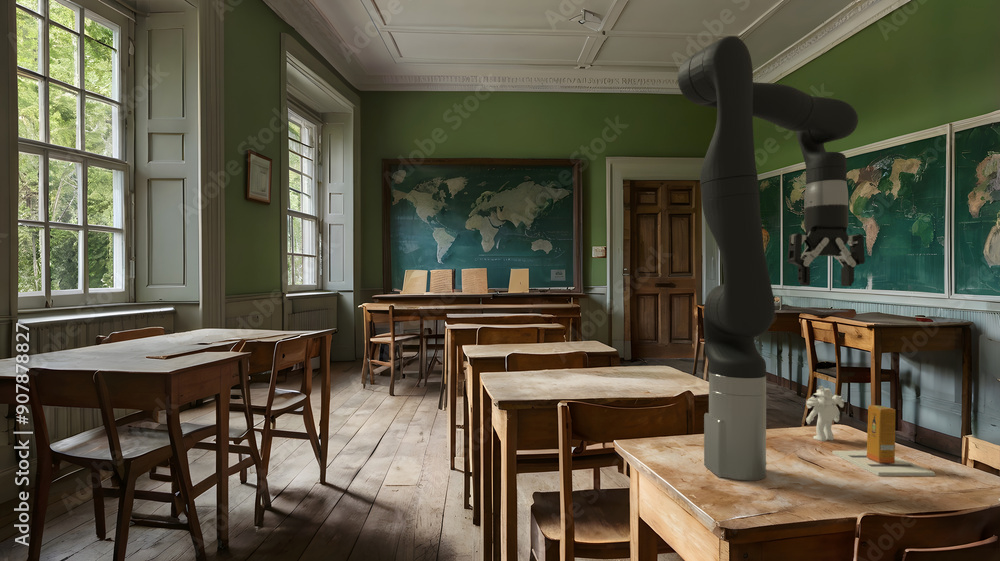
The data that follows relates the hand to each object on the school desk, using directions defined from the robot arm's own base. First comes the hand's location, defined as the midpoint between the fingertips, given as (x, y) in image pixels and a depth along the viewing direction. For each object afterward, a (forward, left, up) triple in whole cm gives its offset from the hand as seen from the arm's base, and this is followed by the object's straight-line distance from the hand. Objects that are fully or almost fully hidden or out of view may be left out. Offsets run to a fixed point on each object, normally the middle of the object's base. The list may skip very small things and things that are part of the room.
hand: (825, 285), depth 105 cm
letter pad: (+5, -8, -33) cm, 34 cm away
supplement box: (+5, -8, -33) cm, 34 cm away
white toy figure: (+5, +8, -33) cm, 35 cm away
